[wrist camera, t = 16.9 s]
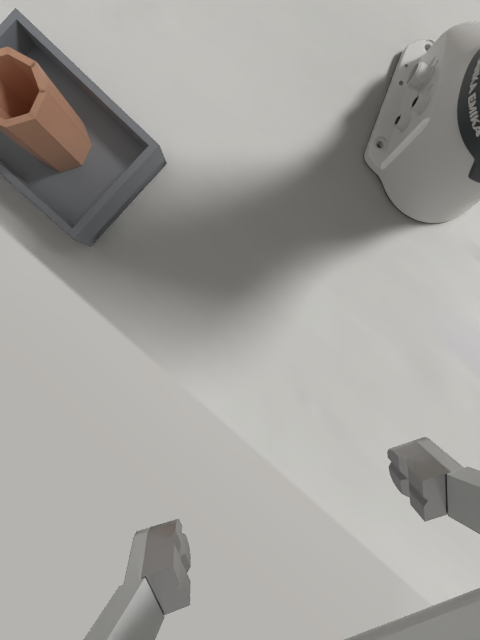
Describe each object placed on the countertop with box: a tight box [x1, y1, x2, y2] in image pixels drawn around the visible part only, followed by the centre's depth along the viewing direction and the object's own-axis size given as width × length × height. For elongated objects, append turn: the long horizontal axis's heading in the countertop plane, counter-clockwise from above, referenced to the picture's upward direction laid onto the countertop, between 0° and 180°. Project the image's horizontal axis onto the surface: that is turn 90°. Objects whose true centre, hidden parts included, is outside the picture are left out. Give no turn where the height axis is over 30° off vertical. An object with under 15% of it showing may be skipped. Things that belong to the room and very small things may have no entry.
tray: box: [0, 8, 167, 246], centre depth 33 cm, size 20×14×4 cm
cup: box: [0, 47, 92, 172], centre depth 29 cm, size 6×6×8 cm
